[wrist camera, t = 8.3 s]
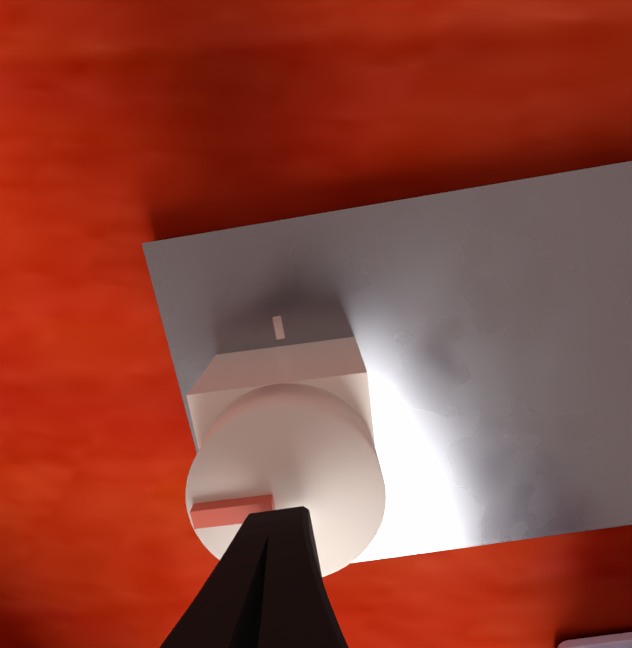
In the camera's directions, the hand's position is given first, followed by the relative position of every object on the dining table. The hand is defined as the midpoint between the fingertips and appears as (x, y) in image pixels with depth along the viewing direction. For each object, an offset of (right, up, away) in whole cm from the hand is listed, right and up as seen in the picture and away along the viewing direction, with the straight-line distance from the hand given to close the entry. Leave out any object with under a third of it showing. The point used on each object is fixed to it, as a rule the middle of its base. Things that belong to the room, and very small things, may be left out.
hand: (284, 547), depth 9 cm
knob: (0, +2, +6) cm, 6 cm away
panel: (+5, +3, +7) cm, 9 cm away
